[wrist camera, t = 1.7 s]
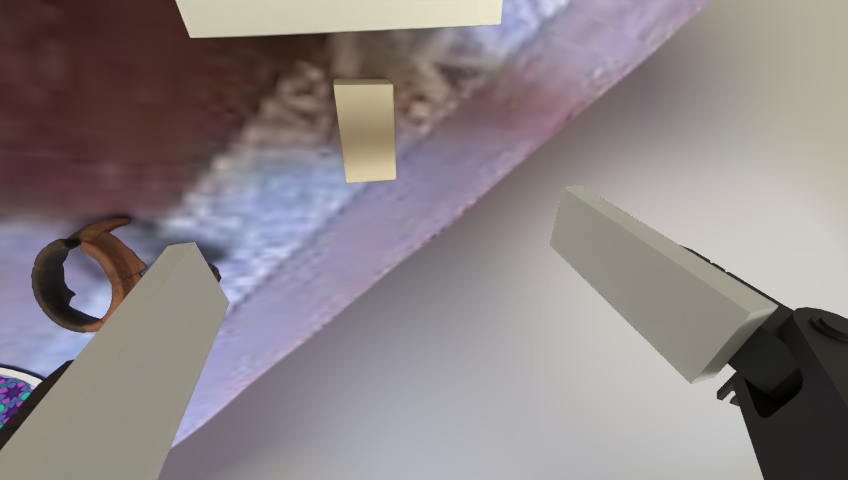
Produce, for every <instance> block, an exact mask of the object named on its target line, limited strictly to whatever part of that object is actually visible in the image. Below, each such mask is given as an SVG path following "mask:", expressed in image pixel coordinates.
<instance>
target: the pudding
mask: <svg viewBox="0 0 848 480" xmlns="http://www.w3.org/2000/svg"><path fill="white" fill-rule="evenodd" d="M0 374H3V375H8V376H12V377H16V378H19V379H21V380H19V379H16V378H3V377H1V376H0V428H1V427H2V426H3V425H4V423H5V422H6V421H7V420H8V419H9V418H10V417H11V415H12V414H16V413H17V412H18V410H17V408H18V407H19V406H20V405H21V404H22V403H23V402H24V400H25V399H26V398H27V397H28V396H29V395H30V393H31V392H32V391H33V390H32V389H31V388H30V384H28V383H27V382H29V383H31V384H33V385H34V386H37V385H38V384H39V383H40V382H42V380H40V379H38V378H36V377H33V376H30V375H28V374H25V373H21V372H17V371H14V370H9V369H4V368H0ZM22 380H24V381H22ZM25 381H27V382H25Z"/></svg>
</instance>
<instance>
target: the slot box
mask: <svg viewBox="0 0 848 480" xmlns="http://www.w3.org/2000/svg"><path fill="white" fill-rule="evenodd" d="M175 1H176V3H177V6H178V8H179V11H180V13H181V16H182V18H183V21H184V23H185V26H186V28H187V31H188V33H189V36H190V38H208V37H249V36H272V35H294V34H317V33H339V32H362V31H384V30H407V29H430V28H450V27H466V26H482V25H498V24H501V14H502V2H503V0H175Z"/></svg>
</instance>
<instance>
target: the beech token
mask: <svg viewBox="0 0 848 480" xmlns="http://www.w3.org/2000/svg"><path fill="white" fill-rule="evenodd" d="M334 92H335V100H336V107H337V115H338V123H339V130H340V138H341V145H342V153H343V160H344V168H345V176H346V183H353V182H366V181H380V180H394V179H396V161H395V131H394V101H393V84H392V83H391V82H389V81H388V80H387V79H386V78H338V79H334Z"/></svg>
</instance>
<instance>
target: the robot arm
mask: <svg viewBox="0 0 848 480" xmlns="http://www.w3.org/2000/svg"><path fill="white" fill-rule="evenodd" d="M550 246H551V247H552V248H553V249H554V250H555V251H556V252H558V253H559V254H560V255H561V256H562V257H563V258H564V259H565V260H566V261H567V262H568V263H569V264H570V265H571V266H572V267H573V268H574V269H575V270H576V271H577V272H578V273H579V274H580V275H581V276H582V277H583V278H584V279H585V280H586V281H587V282H588V283H589V284H590V285H591V286H592V287H593V288H594V289H595V290H596V291H597V292H598V293H599V294H600V295H601V296H602V297H603V298H604V299H605V300H606V301H607V302H608V303H609V304H610V305H611V306H612V307H613V308H614V309H615V310H616V311H617V312H618V313H619V314H620V315H621V316H622V317H623V318H624V319H626V320H627V322H629V324H630V325H631V326H633V327H634V328H635V329H636V330H637V331H638V332H639V333H640V334H641V335H642V336H643V337H644V338H645V339H646V340H647V341H648V342H649V343H650V344H651V345H652V346H653V347H654V348H655V349H656V350H657V351H658V352H659V353H660V354H661V355H662V356H663V357H664V358H665V359H666V360H667V361H668V362H669V363H670V364H671V365H672V366H673V367H674V368H675V369H676V370H677V371H678V372H679V373H680V374H681V375H682V376H683V377H684V378H685V379H686V380H687V381H688V382H689V383H690V384H693V383H697V382H700V381H704V380H707V379H710V378H714V377H715V376H716V375H717V374H718V373H719V372H720V371H721V370H722V368H723V367H724V366H725V365H726V364H727V363H728V364H729V365H730V366H731V367H732V368H733V369H735V370H736V372H735V374H734V375H733V376H732V377H731V378H730V379H729V380H728V381H727V382H726V383H725V384H724V385H723V386H722V387H721V388H720V389H719V390H718V391H717V399H719V400H723V399H724V398H725V397H726V396H727V395H728V394H729V393H730V392H731V391H735V394H736V395H735V396H734V397H733V398H732V399H731V400H730V403H731V404H734V405H737V406H740V409H741V412H742V415H743V418H744V421H745V424H746V427H747V430H748V433H749V436H750V439H751V442H752V445H753V448H754V451H755V454H756V457H757V460H758V463H759V466H760V469H761V472H762V475H763V478H764V480H848V319H846V318H844V317H842V316H840V315H837V314H835V313H831V312H828V311H824V310H821V309H816V308H808V307H804V308H797V309H796V310H795V311H794V310H792V309H790V308H788V307H786V306H784V305H783V304H781V303H779V302H778V301H776V300H775V299H773V298H771V297H769V296H768V295H766V294H765V293H763V292H761V291H760V290H758V289H756V288H755V287H753V286H751V285H750V284H748V283H746V282H744V281H743V280H741V279H740V278H738V277H736V276H735V275H733V274H731V273H730V272H725V270H724V269H723V268H722V267H720V266H718V265H717V264H714V263H710V260H708V259H707V258H705V257H703V256H701V255H700V254H698V253H696V252H695V251H693V250H691V249H689V248H686V247H683V246H681V245H678V244H677V243H675V242H673V241H672V240H670V239H669V238H667V237H665V236H664V235H662V234H660V233H659V232H657V231H655V230H654V229H652V228H650V227H649V226H647V225H646V224H644V223H642V222H641V221H639V220H637V219H636V218H634V217H633V216H631V215H629V214H628V213H626V212H624V211H623V210H621V209H619V208H618V207H616V206H615V205H613V204H611V203H609V202H608V201H606V200H605V199H603V198H601V197H600V196H598V195H596V194H595V193H593V192H592V191H590V190H588V189H587V188H585V187H583V186H582V185H577V186H570V187H564V188H563V192H562V196H561V200H560V204H559V208H558V212H557V217H556V221H555V225H554V229H553V233H552V238H551V241H550ZM229 303H230V302H229V301H228V299H227V297H226V296H225V294H224V292H223V290H222V289H221V287H220V285H219V283H218V282H217V280H216V278H215V276H214V275H213V273H212V271H211V269H210V268H209V266H208V264H207V262H206V261H205V259H204V257H203V255H202V254H201V252H200V250H199V248H198V247H197V245H196V243H195V242H190V243H183V244H176V245H169V246H167V247H166V249H165V250H164V251H163V252H162V253H161V255H160V256H159V257H158V258H157V260H156V261H155V262H154V263H153V264H152V266H151V267H150V268H149V269H148V271H147V272H146V273H145V274H144V276H143V277H142V278H141V279H140V280H139V282H138V283H137V284H136V285H135V287H134V288H133V289H132V290H131V291H130V293H129V294H128V295H127V296H126V298H125V299H124V300H123V301H122V302H121V304H120V305H119V306H118V307H117V309H116V310H115V311H114V312H113V313H112V315H111V316H110V317H109V318H108V320H107V321H106V322H105V323H104V324H103V326H102V327H101V328H100V329H99V331H98V332H97V333H96V334H95V335H94V337H93V338H92V339H91V340H90V342H89V343H88V344H87V345H86V346H85V348H84V349H83V350H82V351H81V353H80V354H79V355H78V356H77V358H76V359H75V360H70V361H67V362H65V363H64V364H63V365H62V366H60V367H59V368H58V369H57V370H55V371H54V372H53V373H52V374H50V375H49V376H48V377H47V378H45V379H44V380H43V381H42V382H40V383H39V384H38V385H37V386H36V388H35V389H34V390H33V391H32V392H31V393H30V395H29V396H28V397H27V398H26V399H25V400H24V402H23V403H22V404H21V405H20V406H19V407H18V408H17V410H18V412H17V413H16V414H12V415H11V417H10V418H9V419H8V420H7V421H6V422H5V423H4V425H3V426H2V427H1V428H0V480H157V479H158V477H159V474H160V471H161V469H162V467H163V464H164V462H165V460H166V457H167V455H168V452H169V450H170V447H171V445H172V442H173V440H174V438H175V435H176V433H177V430H178V428H179V425H180V423H181V420H182V418H183V416H184V413H185V411H186V408H187V406H188V403H189V401H190V398H191V396H192V394H193V391H194V389H195V386H196V384H197V381H198V379H199V376H200V374H201V372H202V369H203V367H204V364H205V362H206V359H207V357H208V354H209V352H210V350H211V347H212V345H213V342H214V340H215V337H216V335H217V332H218V330H219V328H220V325H221V323H222V320H223V318H224V315H225V313H226V311H227V308H228V306H229Z"/></svg>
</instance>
